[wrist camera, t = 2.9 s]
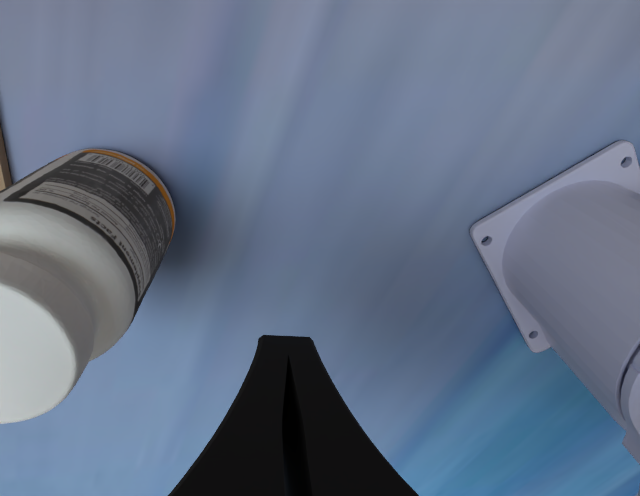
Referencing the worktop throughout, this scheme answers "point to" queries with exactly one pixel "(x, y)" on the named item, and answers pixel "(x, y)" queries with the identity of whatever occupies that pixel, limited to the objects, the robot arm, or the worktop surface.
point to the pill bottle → (73, 270)
